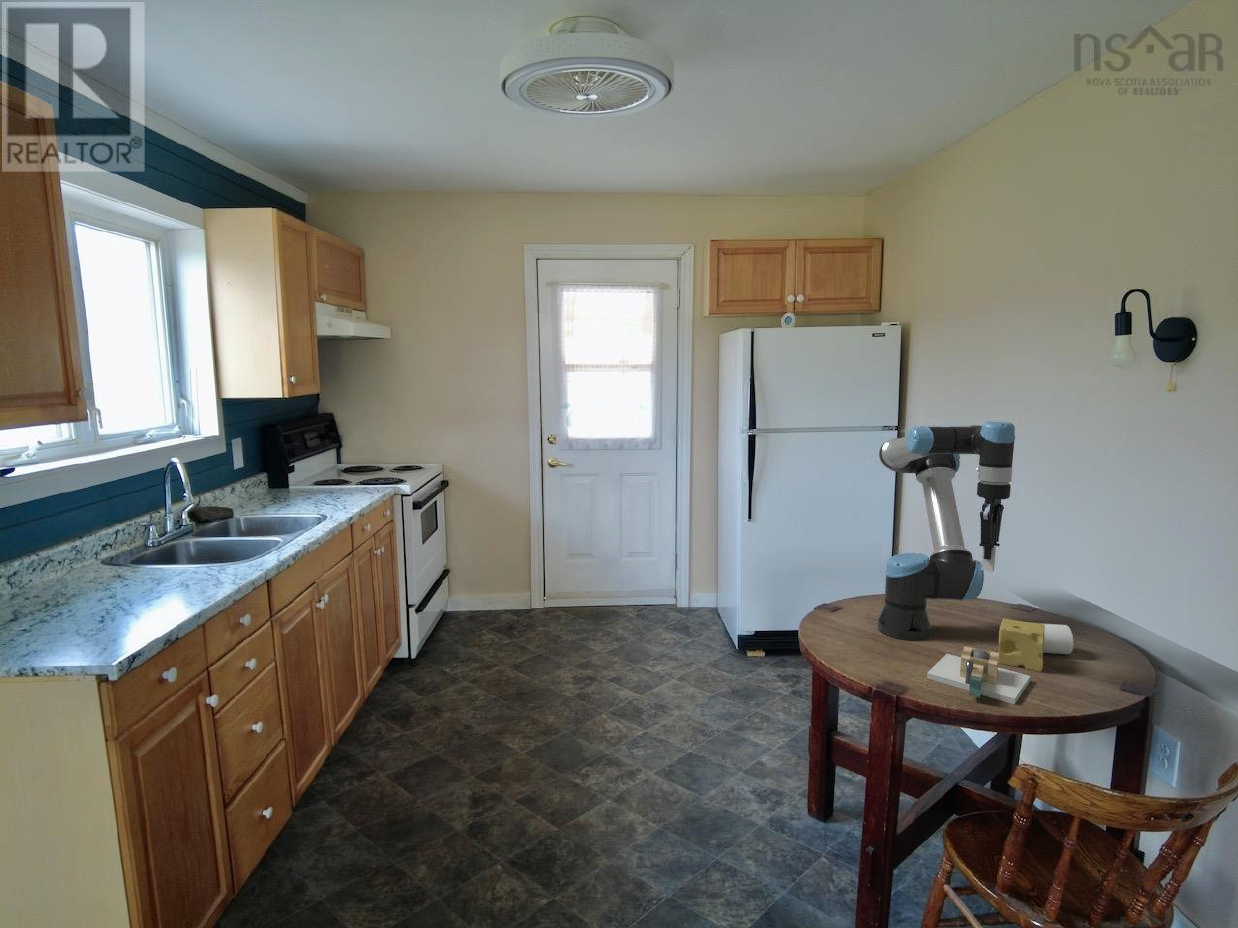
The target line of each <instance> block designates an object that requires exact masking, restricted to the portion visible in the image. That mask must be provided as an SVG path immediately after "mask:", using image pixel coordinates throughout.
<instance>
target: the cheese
mask: <svg viewBox="0 0 1238 928" xmlns="http://www.w3.org/2000/svg"><path fill="white" fill-rule="evenodd" d="M1044 624H1045V623H1041V624H1040V623H1039V622H1028V621H1023V620H1022V621H1020V620H1015V619H1010V618H1004V617H1003V618H1002V621H1001V623H1000V626H999V631H998V653H999V659H998V664H1000V665H1006V666H1012V667H1023V668H1025V669H1026V670H1031V671H1034V672H1039V673H1041V672H1042V671H1043V668H1044V653H1043V650H1044V632H1045V625H1044Z"/></svg>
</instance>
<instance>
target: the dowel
mask: <svg viewBox="0 0 1238 928" xmlns="http://www.w3.org/2000/svg"><path fill="white" fill-rule="evenodd" d="M972 669H973V662H971V661H967V664H966V678H965V683H966V684H970V677H971V674H972Z"/></svg>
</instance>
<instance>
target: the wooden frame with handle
mask: <svg viewBox="0 0 1238 928" xmlns="http://www.w3.org/2000/svg"><path fill="white" fill-rule="evenodd" d="M977 649H978V650H983V651H986V652H987V660H985V659H980V658H975V657H973V654H974V650H977ZM960 657H961V666H960V676H961V677H966V664H967V661H971V662H973V669H972V674H971V677H970V686H969V691H968V696H973V697H975V698H976V697H977V698H981V694H980V693H981V686H982V681H985V682H989V683H994V684H996V678H997V672H998V667H999V652H995V651H992V650H991V651H990V650H985V649H979V648H976V647H975V648H974V647H970V646H969V647H968V646H963V650H962V653H961V656H960Z"/></svg>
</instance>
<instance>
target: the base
mask: <svg viewBox="0 0 1238 928" xmlns="http://www.w3.org/2000/svg"><path fill="white" fill-rule="evenodd" d="M976 649H977V650H974V654H973V657H975V658H980V659H985V660H987V652H986V651H987V650H986V651H983V650H984V649H981V650H978V649H979V648H976ZM960 666H961V656H957V655H955V654H954V655H953V654H950V653H946V654H945V655H944V656H943V657H942V658H941V659H940V660H939V661H938V662H937V663H936V664H934V665H933V667H932V668H931V669H930V670H928V672H927V673H926V679H928V680H932V681H935V682H938V683H941V684H944V685H949V686H952V687H954V688H958V689H961V690H965V691H968V692H969V686H970V684H966V683H965V678H966V677H961V676H960ZM1030 683H1031V675H1027V674H1023V673H1020V672H1017V671H1012V670H1009V669H1007V668H1002V667H999V666H998V672H997V678H996V684H994V683H989V682H985V681H982V686H981V693H980V696H981V695H982V696H985V697H988V698H992V699H994V700H998V701H1001V702H1004V703H1008V704H1012V705H1015V704H1017V702H1018V700H1019V699H1020V697H1021V696H1022V694H1023V693H1024V691H1025V690H1026V688H1027V687H1028V685H1029V684H1030Z"/></svg>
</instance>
